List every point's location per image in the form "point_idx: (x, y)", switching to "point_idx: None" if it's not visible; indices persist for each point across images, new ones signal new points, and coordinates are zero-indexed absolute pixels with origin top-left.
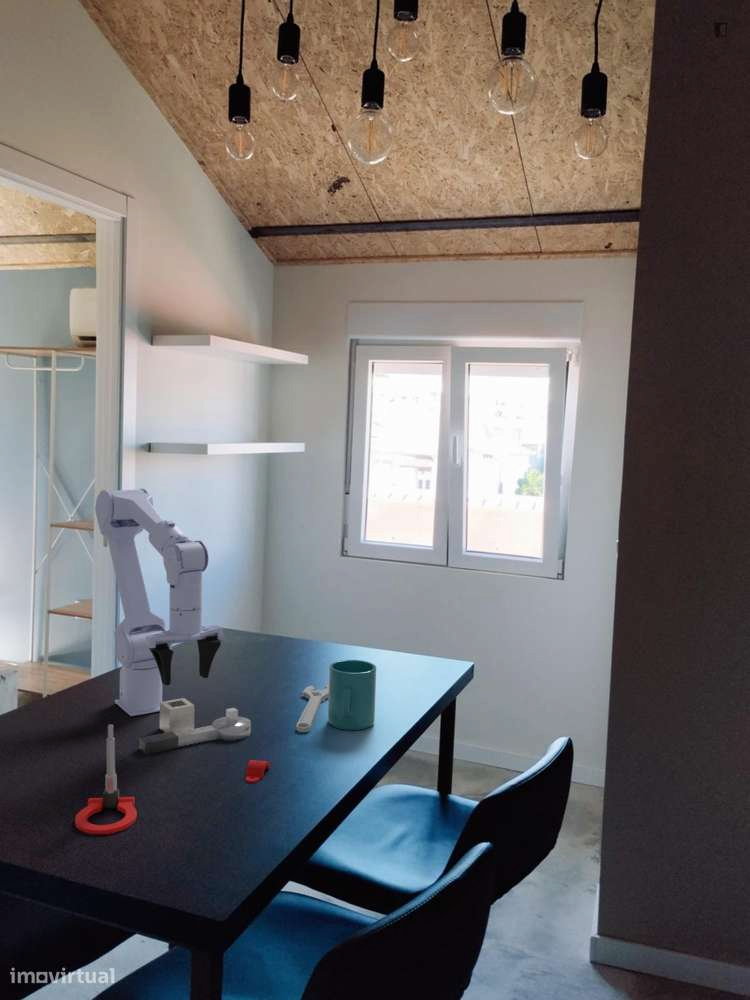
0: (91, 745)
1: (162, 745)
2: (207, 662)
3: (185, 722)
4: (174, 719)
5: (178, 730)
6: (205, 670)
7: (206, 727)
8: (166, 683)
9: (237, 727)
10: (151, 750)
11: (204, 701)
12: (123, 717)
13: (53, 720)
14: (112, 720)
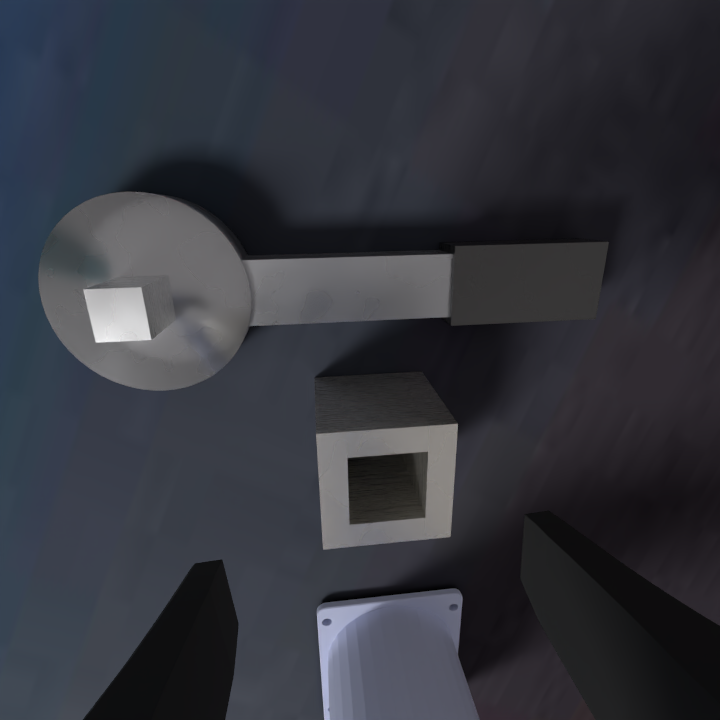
0: (672, 413)
1: (519, 242)
2: (161, 695)
3: (358, 393)
4: (416, 401)
5: (386, 380)
6: (203, 617)
7: (286, 310)
8: (562, 520)
9: (138, 217)
10: (559, 240)
11: None
12: (477, 591)
13: None
14: (517, 580)
